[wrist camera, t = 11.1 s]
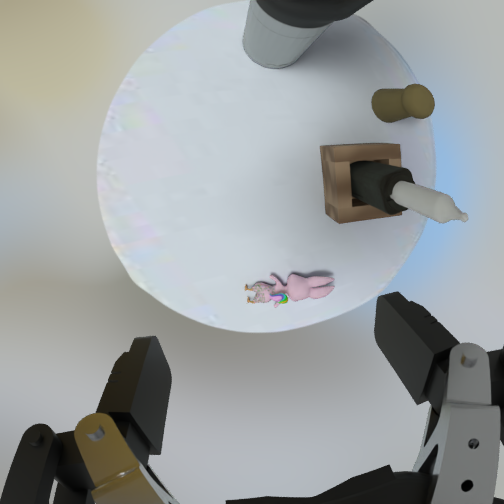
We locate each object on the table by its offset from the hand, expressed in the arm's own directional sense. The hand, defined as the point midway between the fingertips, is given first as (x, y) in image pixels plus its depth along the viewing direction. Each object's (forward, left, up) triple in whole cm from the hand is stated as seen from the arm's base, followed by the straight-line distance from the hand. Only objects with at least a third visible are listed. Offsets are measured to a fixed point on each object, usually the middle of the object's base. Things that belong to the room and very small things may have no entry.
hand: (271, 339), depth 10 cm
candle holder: (+1, +19, -36) cm, 41 cm away
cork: (-11, +27, -37) cm, 47 cm away
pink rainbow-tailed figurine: (+18, +6, -37) cm, 41 cm away
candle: (+1, +19, -35) cm, 40 cm away
